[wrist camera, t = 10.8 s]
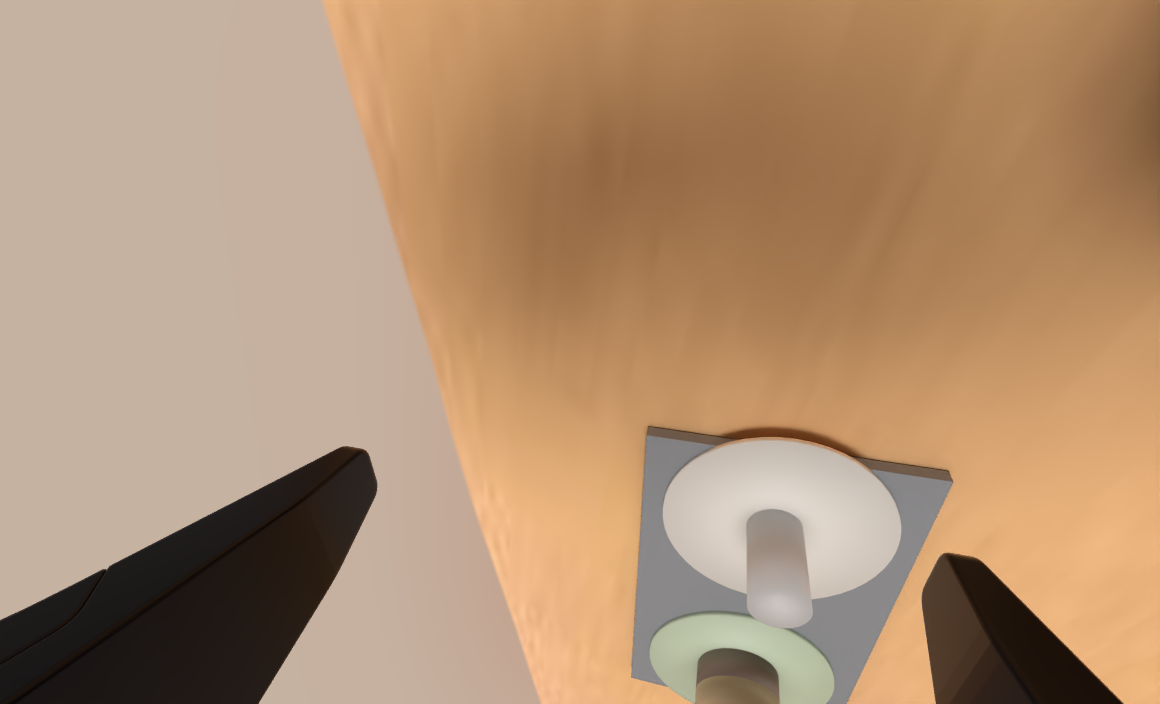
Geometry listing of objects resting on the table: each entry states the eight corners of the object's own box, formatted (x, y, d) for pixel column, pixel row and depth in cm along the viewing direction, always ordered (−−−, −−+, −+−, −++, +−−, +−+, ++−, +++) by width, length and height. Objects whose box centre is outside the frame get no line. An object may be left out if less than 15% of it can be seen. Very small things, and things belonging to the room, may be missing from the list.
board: (957, 452, 21) (1008, 556, 17) (828, 726, 33) (840, 826, 29) (649, 408, 24) (630, 489, 20) (632, 676, 35) (617, 761, 31)
